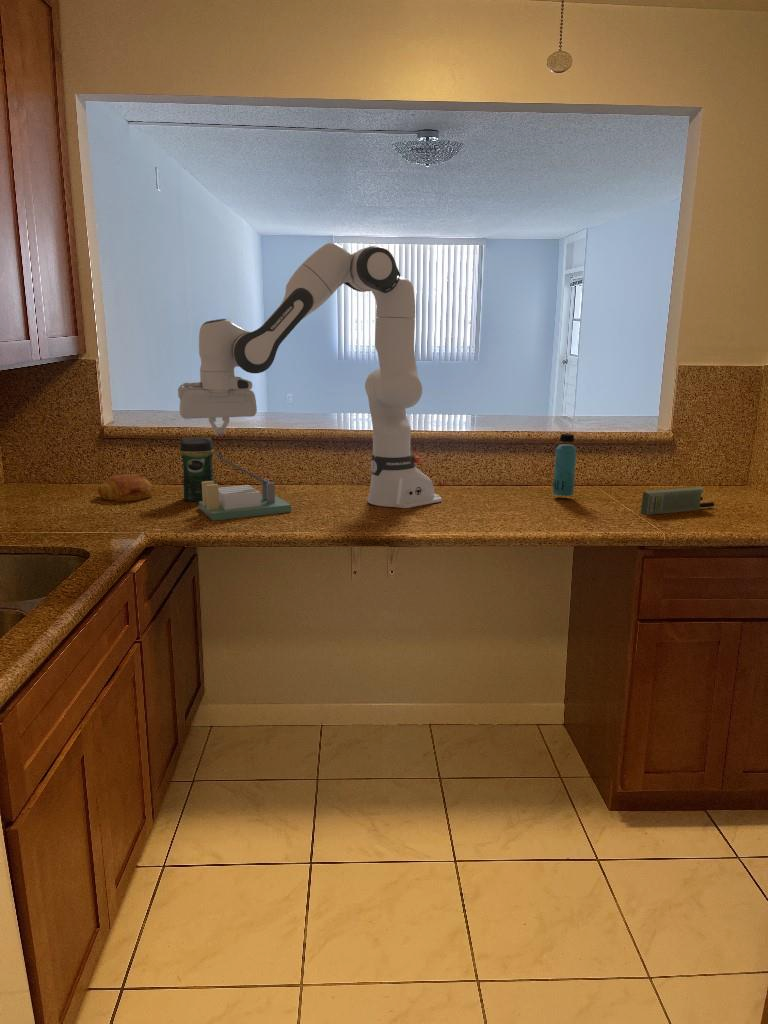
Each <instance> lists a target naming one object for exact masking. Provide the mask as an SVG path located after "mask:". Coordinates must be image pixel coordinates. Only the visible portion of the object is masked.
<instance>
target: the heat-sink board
mask: <svg viewBox="0 0 768 1024" xmlns="http://www.w3.org/2000/svg"><path fill="white" fill-rule="evenodd" d="M264 480H265V481H266V480H267V481H269V482H270V480H269V479H264ZM266 484H267V486H266V485H265V484H264V482H262V481H261V491H259V490H258V489H256V488H255V487H253V486H251V485H250V484H244V485H235V486H233V485H232V486H223V487H219V484H218V483H215V484H214V482H213V481H204V482H202V498H203V501H198V508H199V510H201V512H203V514H205V515H206V516H207V517H208V518H209V519H210V520H212V521H215V522H216V521H223V520H230V519H231V520H232V519H241V518H242V519H243V518H250V517H258V516H266V515H267V516H268V515H275V514H284V513H291V512H292V504H290V503H289V502H287V501H285V500H284V499H282V498H280V497H278V496H277V495H276V490H275V482H271V483H266Z"/></svg>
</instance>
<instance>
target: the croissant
mask: <svg viewBox="0 0 768 1024" xmlns="http://www.w3.org/2000/svg"><path fill="white" fill-rule="evenodd" d="M97 492H98V493H97V494H99V496H101V499H103V500H105V501H106V500H107V501H111V502H112V501H113V502H114V501H115V502H117V503H120V502H125V503H126V502H134V501H140V500H144V499H148V498H151V497H152V492H153V485H152V483H151V482H150V480H147V479H146V478H145V477H143V476H142V475H139V474H137V473H123V474H116V475H111V476H109V477H107V478H106V479H105V480H104V481H103V482H102V483H101V484H100V485H99V487H98V491H97Z"/></svg>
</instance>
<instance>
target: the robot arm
mask: <svg viewBox="0 0 768 1024" xmlns="http://www.w3.org/2000/svg"><path fill="white" fill-rule="evenodd" d="M342 285H346V286H347V287H349V288H350V289H351V290H354V291H355V292H356V291H357V292H359V293H360V292H361V293H364V292H371V293H372V294H373V296H374V299H375V304H376V307H375V308H376V309H375V310H376V311H375V332H374V347H375V350H376V353H377V357H378V364H379V368H378V369H375V370H374V371H371V372H370V373H369V374H368V376H367V377H366V379H365V381H364V382H365V383H364V389H365V393H366V395H367V399H368V405H369V413H370V417H371V418H370V419H371V425H372V454H371V459H370V460H371V461H370V462H371V463H370V472H371V478H370V479H371V481H370V486H369V491H368V495H367V499H366V503H369V504H371V505H374V506H378V507H388V508H399V509H400V508H401V509H410V508H415V507H420V506H425V505H430V504H434V503H440V502H442V497H441V495H439V494H437V493H435V489H434V487H435V486H434V483H433V481H432V479H431V478H430V477H428V475H426V474H425V473H423V472H422V471H421V470H420V469H419V468H417V466H416V464H417V465H418V464H421V463H422V461H423V458H422V457H421V456H417V455H416V456H414V455H412V454H411V442H412V441H411V440H412V439H411V435H412V433H411V431H412V429H411V425H410V423H409V420H408V416H407V412H406V409H409V408H413V407H414V406H415V405H417V404H418V403H419V401H420V400H421V398H422V395H423V385H422V383H421V381H420V378H419V375H418V367H417V362H416V355H415V353H416V352H415V330H416V329H415V327H416V326H415V325H416V298H415V290H414V285H413V283H412V282H411V281H410V280H409V279H407V278H405V277H403V276H401V273H400V271H399V268H398V266H397V263H396V260H395V257H394V256H393V254H392V253H391V252H390V251H389V250H388V249H387V248H385V247H383V246H379V245H371V246H368V247H363V248H360V249H359V250H358V251H356V252H353V253H350V252H349V251H347V250H346V248H344V247H343V246H342V245H340V244H339V243H335V242H328V243H326V244H324V245H322V246H321V247H319V248H318V249H316V250H315V251H314V252H313V253H312V254H311V255H310V256H309V257H307V258H306V259H305V260H304V261H303V262H302V263H301V264H300V265H299V267H297V269H296V270H295V272H294V273H293V274H292V275H291V277H290V278H289V280H288V282H287V283H286V285H285V292H284V293H285V294H284V298H283V300H282V301H281V304H280V305H279V306H278V307H277V308H276V309H275V311H274V312H272V314H271V315H270V316H269V317H268V318H267V320H265V322H264V323H263V324H262V325H261V326H260V327H258V328H257V329H255V330H252V331H249V330H246V329H244V328H242V327H240V326H238V325H237V324H235V323H233V322H232V321H231V320H230V319H228V318H219V319H213V320H207V321H205V322H203V324H201V326H200V328H199V334H198V355H199V358H200V367H199V374H200V375H199V380H200V382H198V381H197V382H183V384H180V385H179V386H178V390H177V396H178V399H179V416H180V417H181V418H182V419H185V420H186V419H187V420H188V419H193V420H194V419H208V422H209V424H210V426H211V427H212V428H213V429H212V431H213V435H215V436H216V435H217V436H218V435H226V433H227V430H226V429H227V427H228V425H229V423H230V418H237V417H238V418H243V417H255V416H256V414H257V412H258V408H257V407H258V406H257V398H256V395H255V393H254V391H252V388H253V382H252V381H251V380H247V379H244V378H242V377H241V376H236V375H235V368H237V367H239V368H241V369H242V370H243V371H245V372H247V373H248V374H260V373H261V374H262V373H264V372H266V371H267V370H268V369H269V368H270V367H271V366H272V365H273V363H274V360H275V359H276V358H275V357H276V356H277V355H276V354H277V351H278V350H279V348H280V345H281V343H283V341H285V339H286V338H287V337H288V336H289V334H291V332H292V331H293V330H294V329H295V328H296V326H297V325H298V324H299V323H300V322H301V321H302V320H303V319H304V318H306V317H307V316H309V315H310V314H311V313H313V312H314V311H316V310H317V309H318V308H320V307H321V306H322V305H323V304H325V302H326V301H328V300H329V299H330V298H331V297H332V295H333V294H334V293H336V291H337V289H339V288H340V287H341V286H342ZM217 418H222V422H223V423H222V425H221V426H218V427H217V424H216V422H217Z"/></svg>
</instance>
